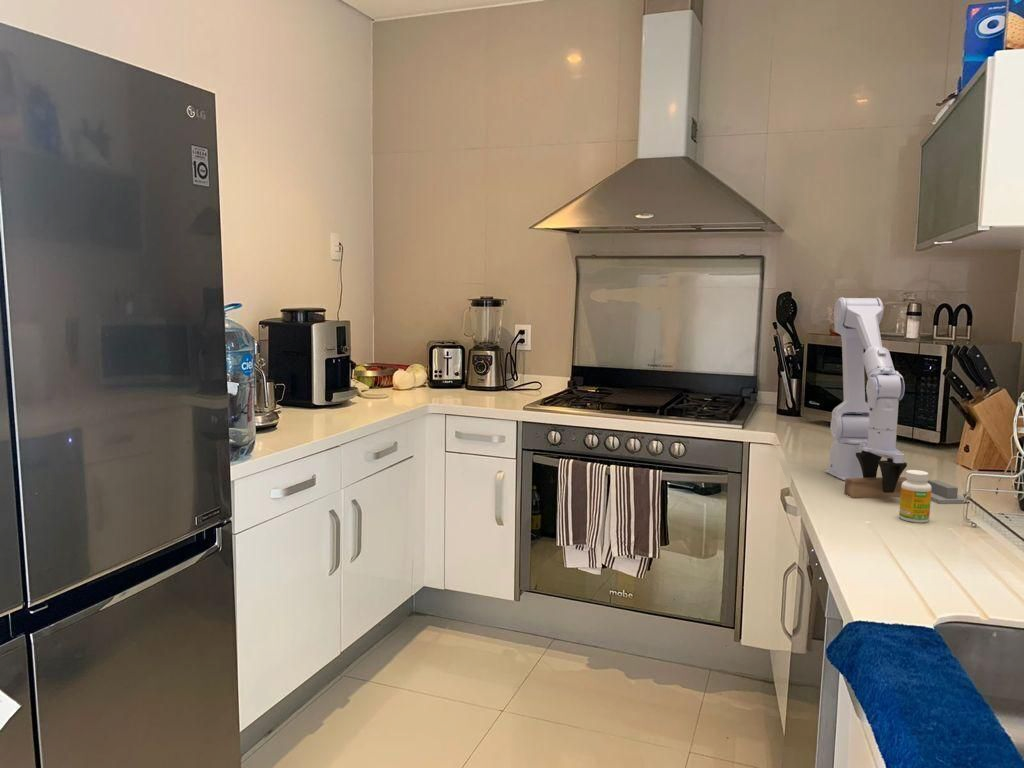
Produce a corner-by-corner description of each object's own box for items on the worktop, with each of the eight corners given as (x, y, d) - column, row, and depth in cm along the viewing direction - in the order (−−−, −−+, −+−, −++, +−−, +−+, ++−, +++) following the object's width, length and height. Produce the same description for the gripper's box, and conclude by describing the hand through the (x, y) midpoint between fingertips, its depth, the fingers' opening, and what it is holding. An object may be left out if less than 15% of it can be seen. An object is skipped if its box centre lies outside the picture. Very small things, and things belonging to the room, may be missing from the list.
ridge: (914, 493, 176) (915, 479, 176) (943, 492, 177) (944, 478, 177) (939, 503, 168) (940, 489, 167) (969, 503, 168) (970, 488, 168)
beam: (844, 495, 175) (845, 478, 175) (903, 494, 176) (904, 477, 176) (852, 499, 172) (853, 481, 171) (912, 498, 173) (913, 480, 172)
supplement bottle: (913, 524, 153) (916, 475, 152) (892, 516, 158) (896, 469, 157) (935, 522, 154) (939, 474, 153) (914, 514, 159) (918, 468, 158)
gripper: (848, 422, 179) (845, 480, 181) (883, 434, 165) (879, 496, 166) (877, 422, 180) (873, 480, 181) (915, 433, 165) (911, 496, 167)
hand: (878, 488), depth 174 cm, fingers open, 7 cm apart
